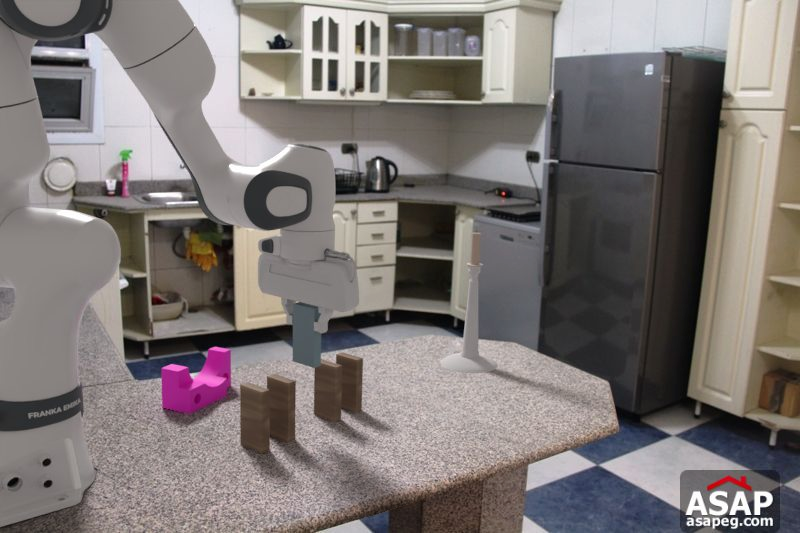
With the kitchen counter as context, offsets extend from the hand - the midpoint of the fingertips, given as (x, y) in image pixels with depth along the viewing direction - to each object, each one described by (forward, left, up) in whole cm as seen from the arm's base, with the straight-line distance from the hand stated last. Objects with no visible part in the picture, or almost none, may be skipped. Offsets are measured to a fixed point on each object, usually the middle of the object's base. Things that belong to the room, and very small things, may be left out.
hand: (306, 328), depth 120 cm
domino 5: (+11, 0, -17) cm, 20 cm away
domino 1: (-11, 0, -17) cm, 21 cm away
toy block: (-3, +24, -18) cm, 30 cm away
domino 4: (+5, 0, -17) cm, 18 cm away
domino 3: (0, 0, -6) cm, 6 cm away
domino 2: (-6, 0, -17) cm, 18 cm away
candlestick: (+47, -3, -18) cm, 50 cm away
